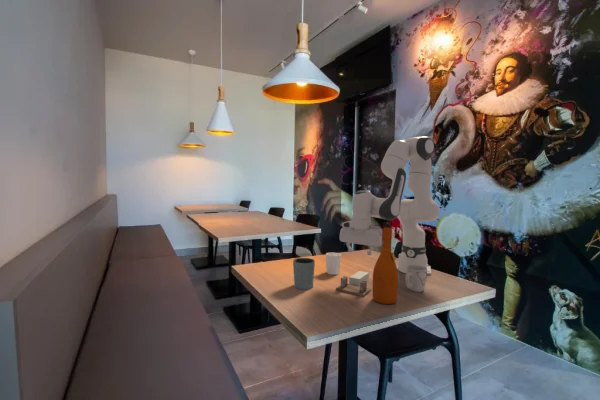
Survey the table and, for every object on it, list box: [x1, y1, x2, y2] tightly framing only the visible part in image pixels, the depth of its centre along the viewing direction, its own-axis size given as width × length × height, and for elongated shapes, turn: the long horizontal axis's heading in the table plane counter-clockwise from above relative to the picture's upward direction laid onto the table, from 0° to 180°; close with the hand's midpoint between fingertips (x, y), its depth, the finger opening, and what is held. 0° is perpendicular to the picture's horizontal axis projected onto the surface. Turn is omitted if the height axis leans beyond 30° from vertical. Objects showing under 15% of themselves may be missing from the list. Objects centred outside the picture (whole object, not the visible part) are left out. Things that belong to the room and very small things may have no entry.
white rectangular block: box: [348, 270, 370, 286], centre depth 145 cm, size 12×5×4 cm, turn 146°
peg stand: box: [335, 275, 372, 298], centre depth 133 cm, size 8×13×5 cm, turn 57°
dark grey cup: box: [292, 257, 316, 290], centre depth 138 cm, size 10×10×12 cm
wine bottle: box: [372, 226, 399, 305], centre depth 122 cm, size 10×10×30 cm
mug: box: [404, 265, 427, 293], centre depth 136 cm, size 11×8×10 cm
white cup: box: [325, 251, 342, 276], centre depth 159 cm, size 8×8×10 cm
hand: (359, 253), depth 144 cm, fingers open, 8 cm apart
